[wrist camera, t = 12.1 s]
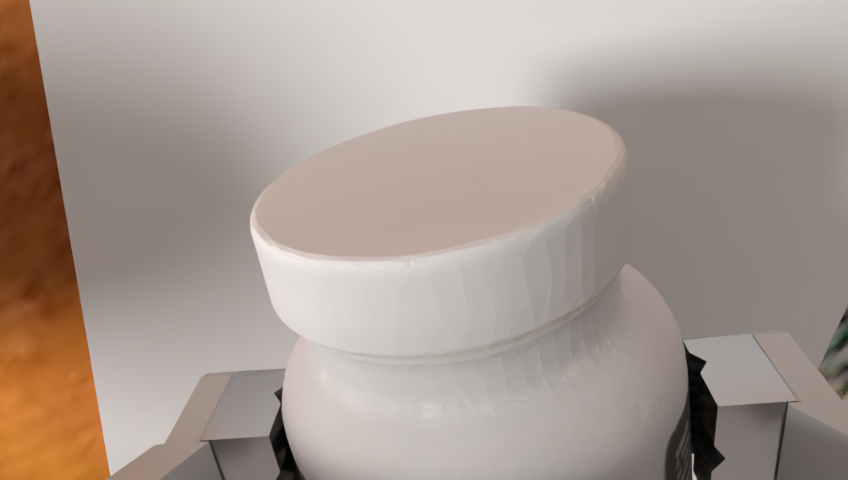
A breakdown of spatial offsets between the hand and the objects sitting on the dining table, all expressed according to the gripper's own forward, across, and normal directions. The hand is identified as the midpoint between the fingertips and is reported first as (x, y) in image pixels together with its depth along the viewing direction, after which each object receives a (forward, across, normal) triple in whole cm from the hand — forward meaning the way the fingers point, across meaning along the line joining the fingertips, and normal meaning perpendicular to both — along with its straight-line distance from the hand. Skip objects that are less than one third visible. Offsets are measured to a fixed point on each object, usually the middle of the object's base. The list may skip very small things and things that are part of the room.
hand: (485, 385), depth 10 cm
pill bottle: (0, 0, +6) cm, 6 cm away
